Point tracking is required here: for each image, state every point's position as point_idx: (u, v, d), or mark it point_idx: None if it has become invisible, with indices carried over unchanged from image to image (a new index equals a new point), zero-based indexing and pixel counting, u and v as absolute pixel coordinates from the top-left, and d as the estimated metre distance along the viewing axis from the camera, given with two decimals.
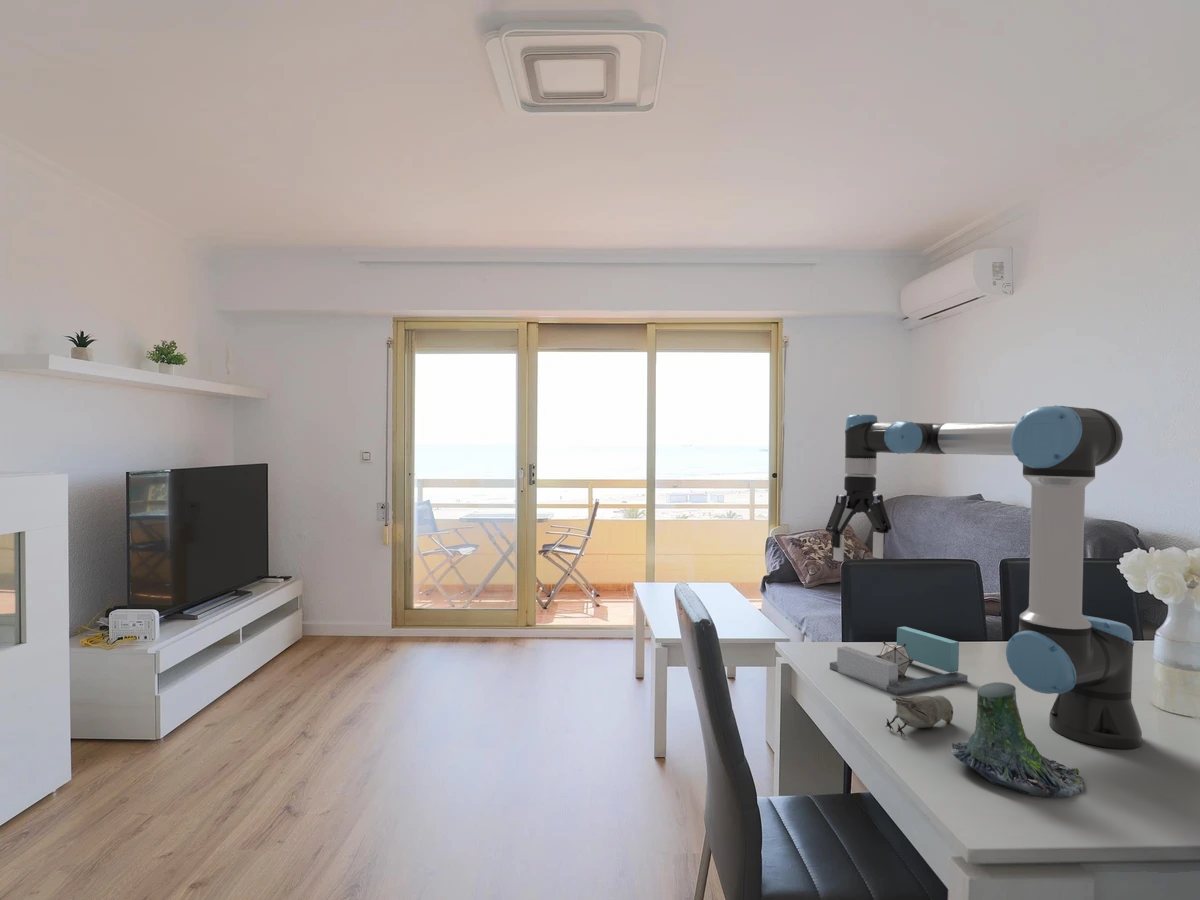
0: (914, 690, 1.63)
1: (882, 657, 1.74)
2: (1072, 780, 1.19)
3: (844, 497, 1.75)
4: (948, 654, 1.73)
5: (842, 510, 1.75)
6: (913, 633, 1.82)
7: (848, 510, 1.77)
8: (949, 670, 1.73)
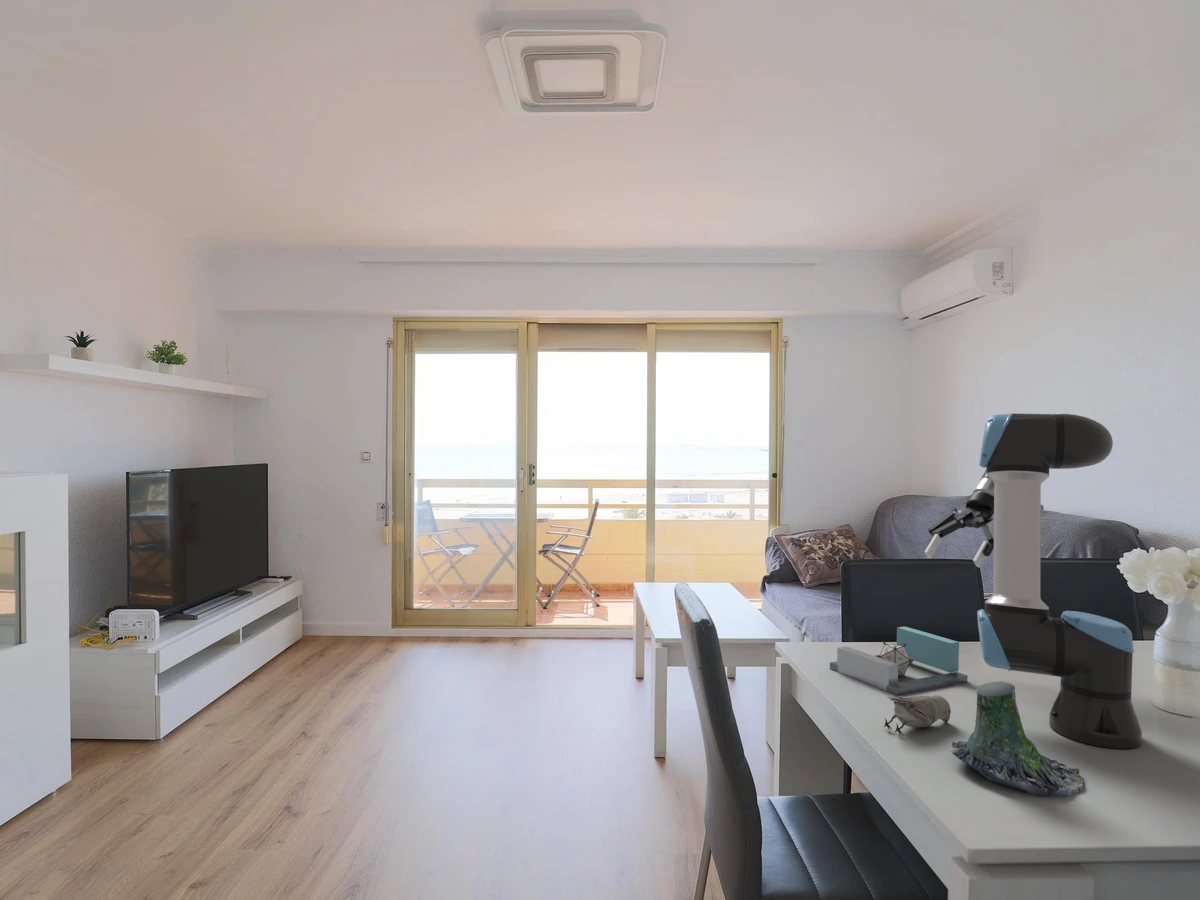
0: (914, 690, 1.63)
1: (882, 657, 1.74)
2: (1072, 779, 1.19)
3: (953, 508, 1.95)
4: (948, 654, 1.73)
5: (946, 517, 1.95)
6: (913, 633, 1.82)
7: None
8: (949, 670, 1.73)
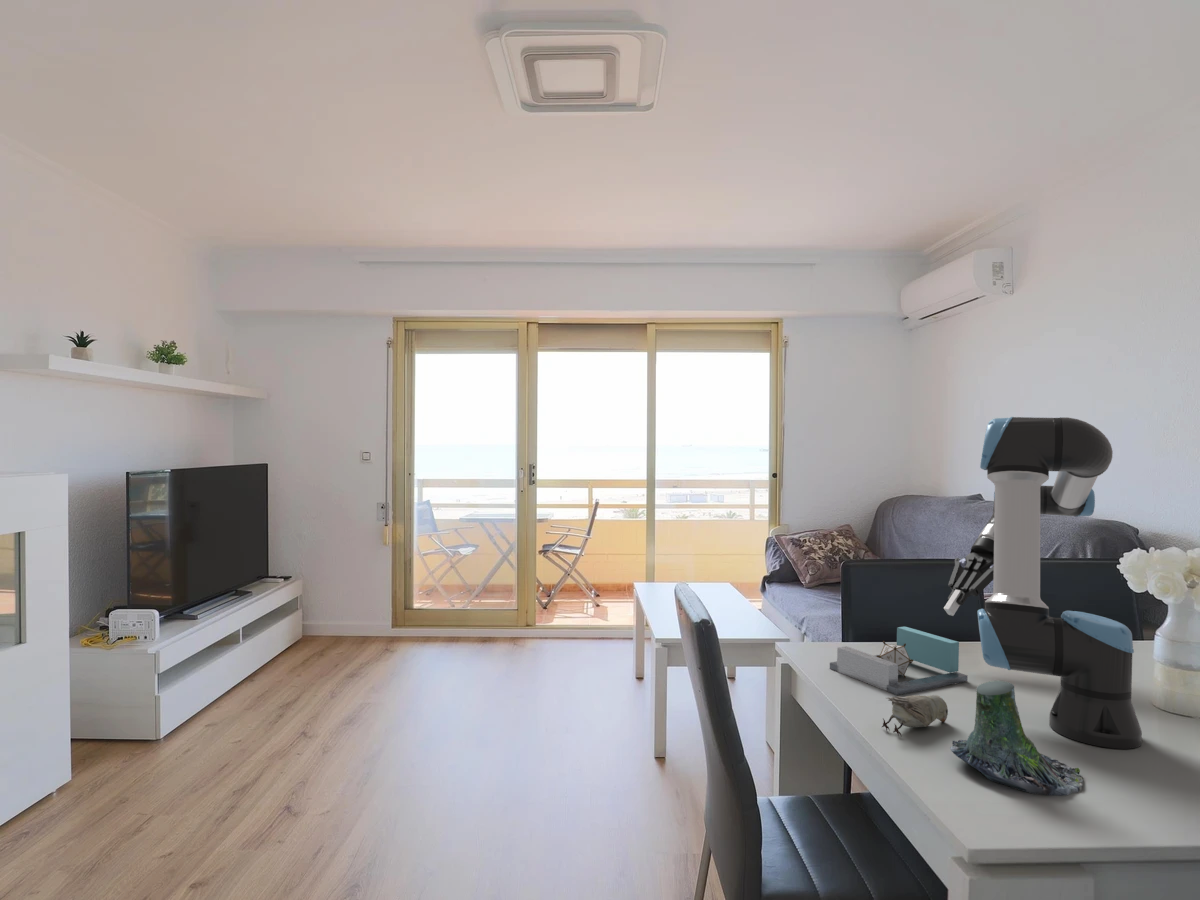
0: (914, 690, 1.63)
1: (882, 657, 1.74)
2: (1071, 779, 1.20)
3: (955, 559, 1.95)
4: (948, 654, 1.73)
5: (956, 568, 1.92)
6: (913, 633, 1.82)
7: None
8: (949, 670, 1.73)
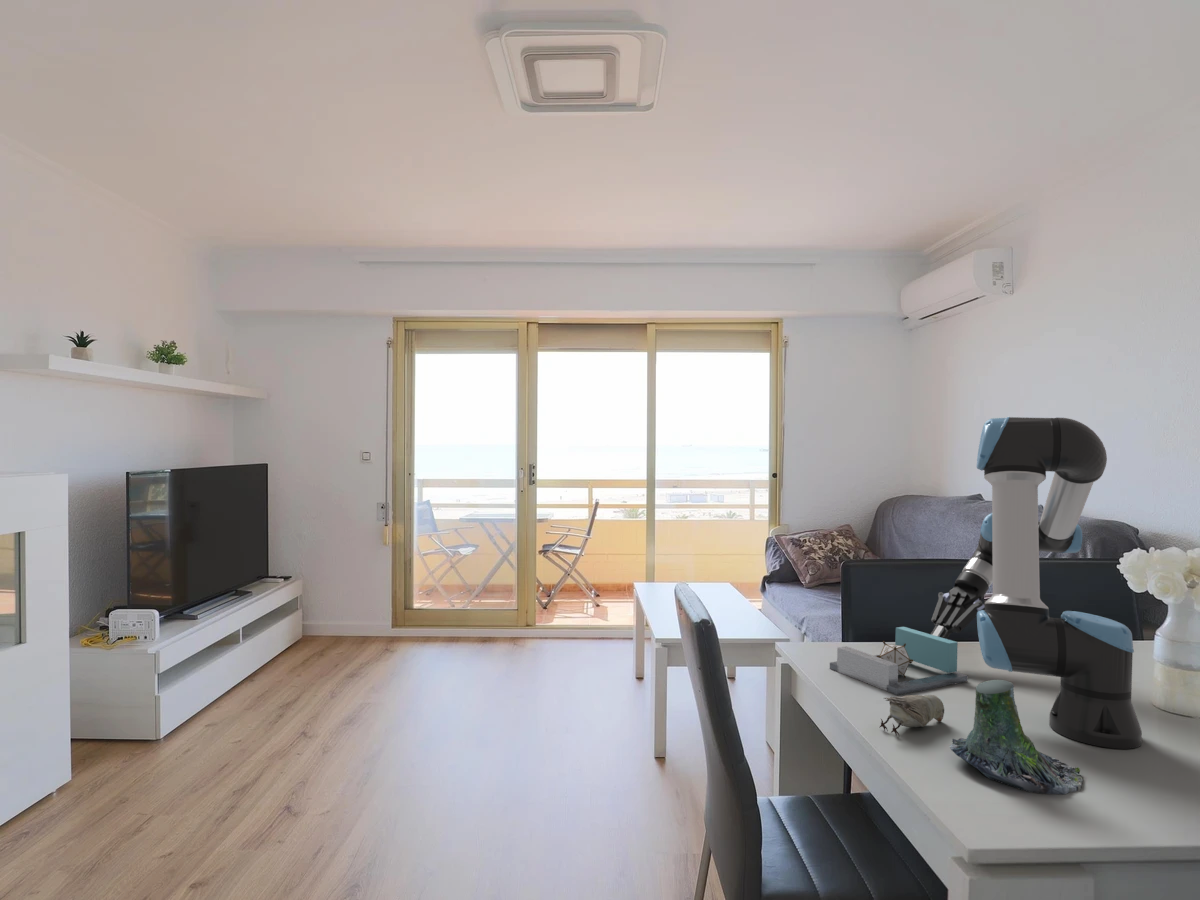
0: (914, 690, 1.63)
1: (882, 657, 1.74)
2: (1071, 778, 1.20)
3: (939, 593, 1.91)
4: (946, 654, 1.73)
5: (939, 603, 1.89)
6: (912, 633, 1.82)
7: None
8: (948, 670, 1.72)
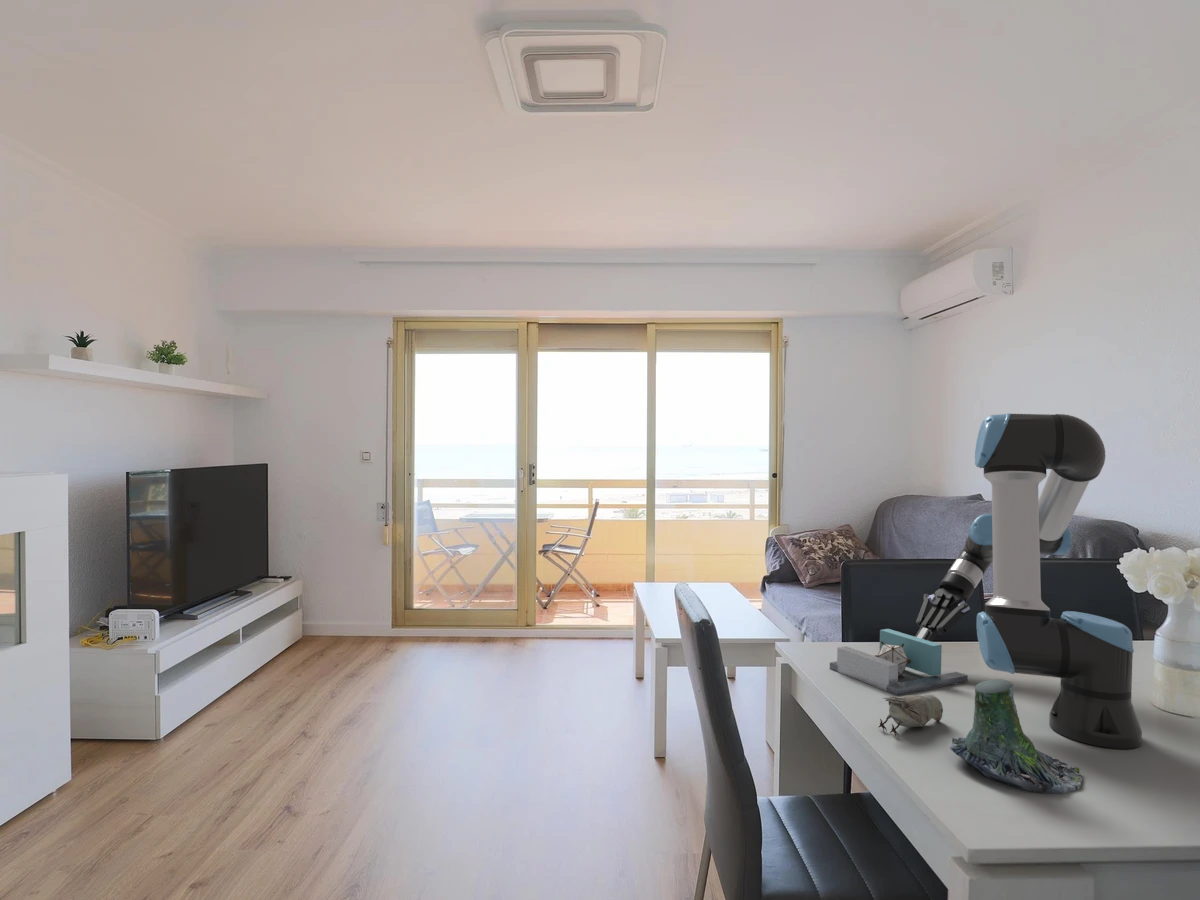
0: (914, 690, 1.63)
1: (880, 657, 1.74)
2: (1070, 778, 1.20)
3: (924, 595, 1.89)
4: (930, 657, 1.70)
5: (924, 604, 1.87)
6: (896, 635, 1.79)
7: None
8: (931, 673, 1.70)
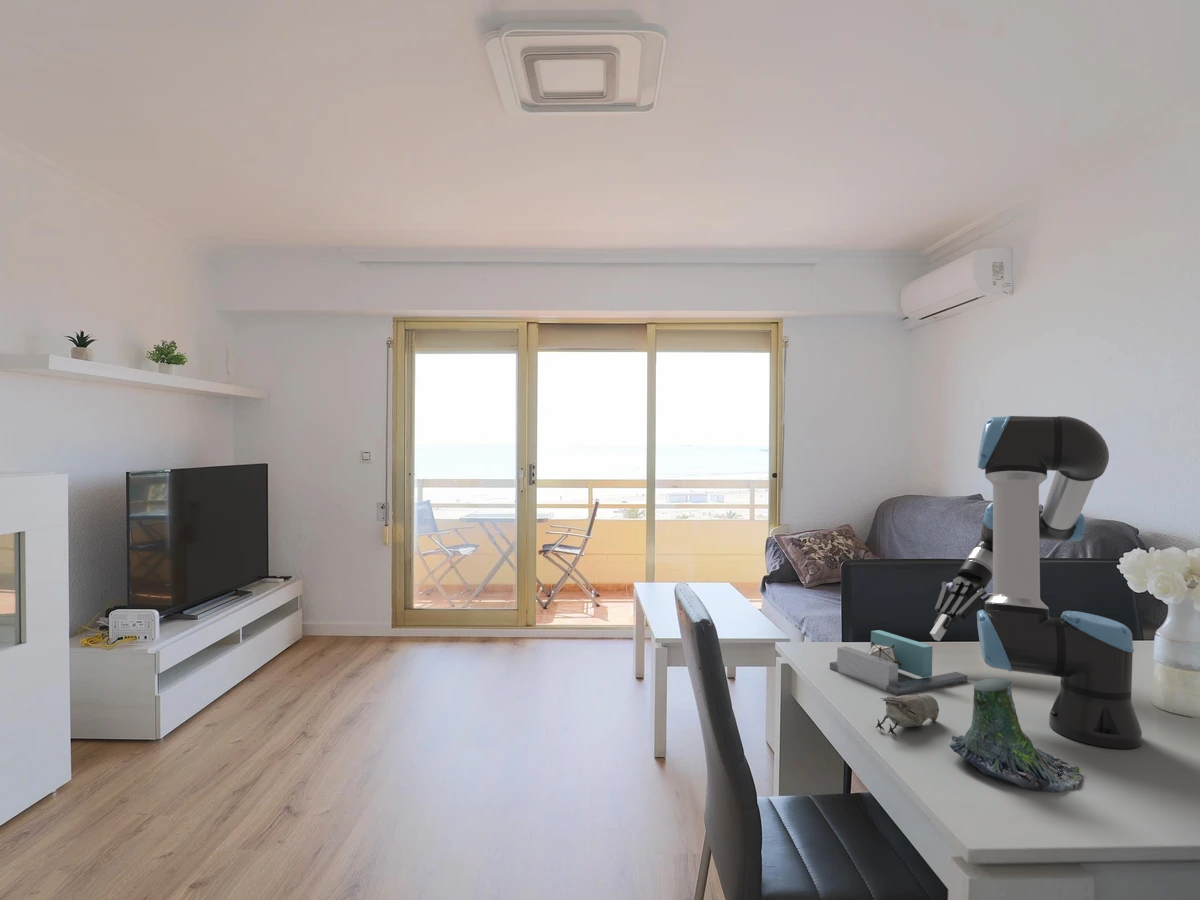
0: (914, 690, 1.63)
1: None
2: (1069, 777, 1.20)
3: (942, 583, 1.92)
4: (921, 658, 1.69)
5: (943, 592, 1.89)
6: (887, 637, 1.78)
7: None
8: (922, 675, 1.68)
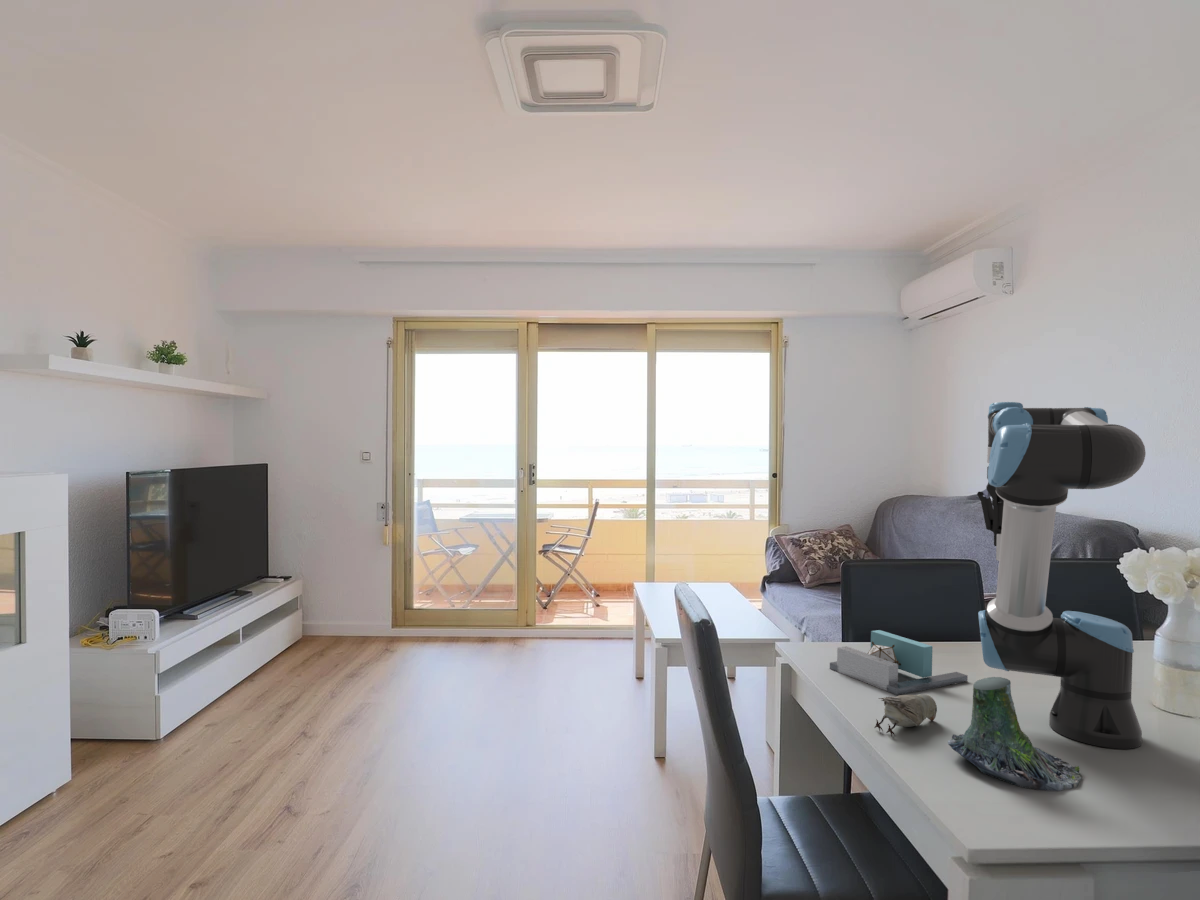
0: (914, 690, 1.63)
1: None
2: (1068, 776, 1.20)
3: (978, 494, 1.79)
4: (921, 658, 1.69)
5: (984, 506, 1.78)
6: (887, 637, 1.78)
7: None
8: (922, 675, 1.68)
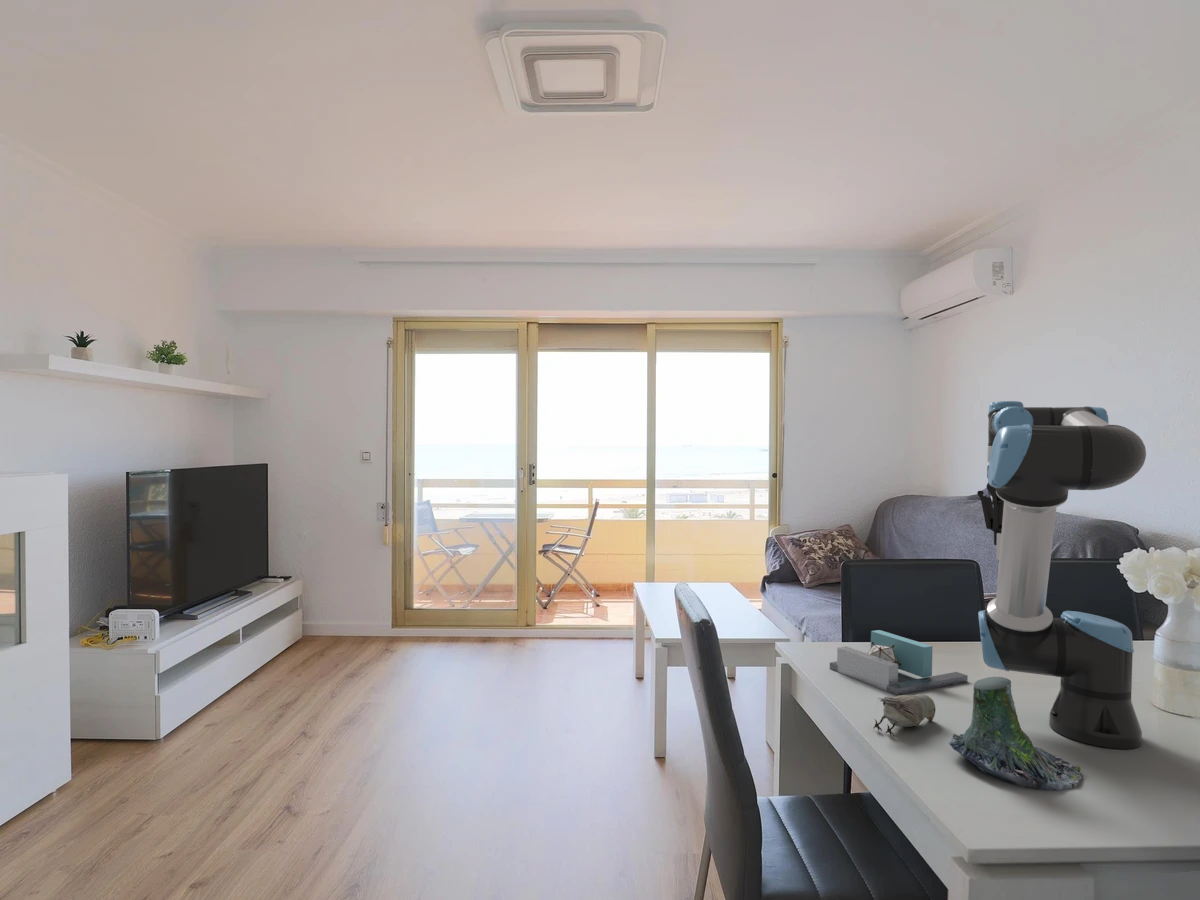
0: (914, 690, 1.63)
1: None
2: (1069, 776, 1.21)
3: (978, 493, 1.79)
4: (921, 658, 1.69)
5: (984, 505, 1.78)
6: (887, 637, 1.78)
7: None
8: (922, 675, 1.68)
